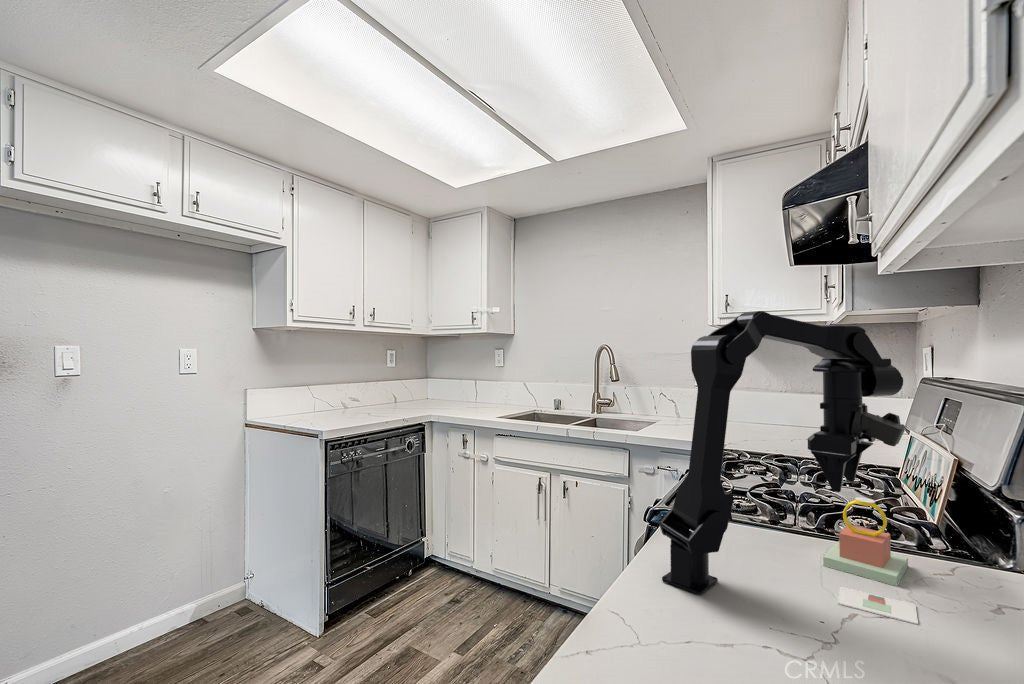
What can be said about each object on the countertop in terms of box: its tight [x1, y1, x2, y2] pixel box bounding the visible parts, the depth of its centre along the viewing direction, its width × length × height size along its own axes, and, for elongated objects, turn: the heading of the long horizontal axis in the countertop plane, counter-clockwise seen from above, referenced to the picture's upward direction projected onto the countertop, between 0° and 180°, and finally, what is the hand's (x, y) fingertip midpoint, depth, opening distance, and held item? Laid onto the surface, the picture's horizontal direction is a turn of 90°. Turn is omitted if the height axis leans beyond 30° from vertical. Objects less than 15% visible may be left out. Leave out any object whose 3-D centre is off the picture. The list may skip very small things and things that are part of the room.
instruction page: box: [837, 586, 919, 626], centre depth 70 cm, size 6×9×1 cm, turn 53°
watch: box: [842, 496, 888, 537], centre depth 83 cm, size 6×3×6 cm, turn 48°
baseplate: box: [822, 540, 909, 587], centre depth 83 cm, size 10×10×2 cm
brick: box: [838, 524, 892, 568], centre depth 83 cm, size 6×6×4 cm
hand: (843, 486), depth 85 cm, fingers open, 9 cm apart
